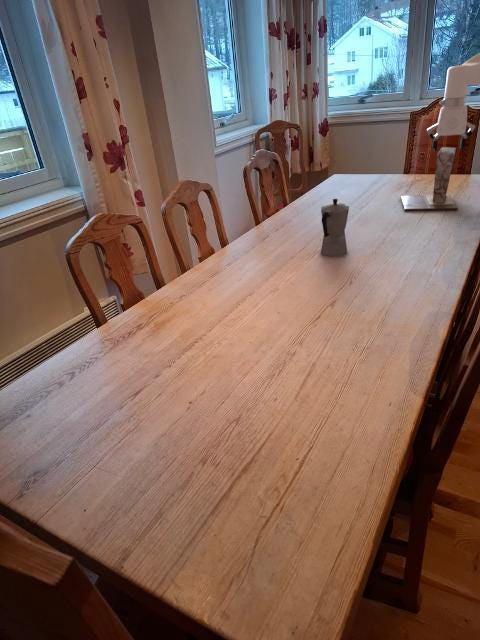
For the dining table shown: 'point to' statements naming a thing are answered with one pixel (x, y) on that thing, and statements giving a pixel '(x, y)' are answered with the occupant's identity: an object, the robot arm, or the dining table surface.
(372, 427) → the dining table surface
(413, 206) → the board
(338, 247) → the coffeepot
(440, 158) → the stone block
